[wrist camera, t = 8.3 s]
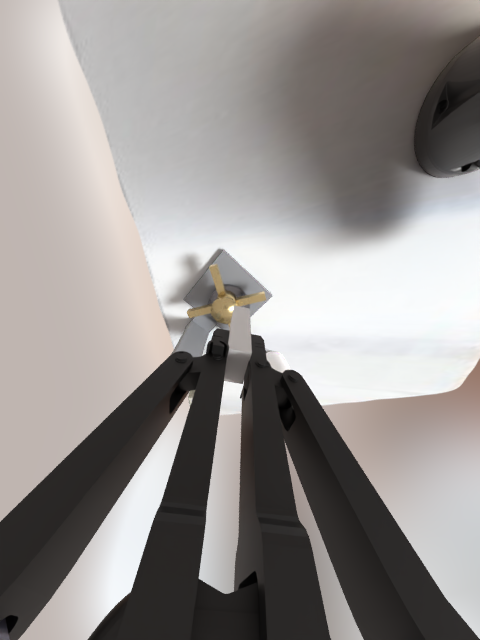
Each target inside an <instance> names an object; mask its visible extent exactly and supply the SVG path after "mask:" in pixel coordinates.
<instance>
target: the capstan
mask: <svg viewBox="0 0 480 640" xmlns="http://www.w3.org/2000/svg"><path fill="white" fill-rule="evenodd" d="M209 269H210V272H211V275H212V278H213V281H214V284H215V287H216V289H215V290H214V291H213V293H212V294H211V296H210V298H209V302H208V305H205V306H200V307H196V308H192V309H189V310H188V311H187V314H188V316H189V318H192V317H197V316H201V315H205V314H209V313H210V314H211V315H212V317H213V318H214V319H215V320H216V321H217V322H219V323H223V324H227V325H228V326H229V327H230V323H231V318H232V313H233V308H234V306H239V307H244V308H249V309H250V304H252V303H256V302H261V301H265V300H266V296H265V292H264V291H263V292H258V293H254V294H250V295H247V294H246V293H245V292H244V291H243V290H242V289H241V288H239V287H237V286H234V285H224V283H223V280H222V277H221V273H220V270H219V267H218V264H214V265H211V266H209Z"/></svg>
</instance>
